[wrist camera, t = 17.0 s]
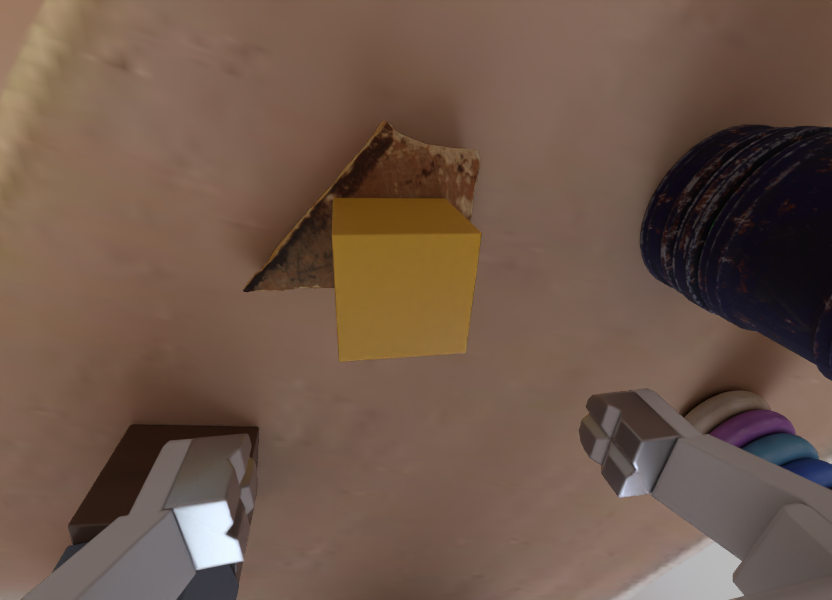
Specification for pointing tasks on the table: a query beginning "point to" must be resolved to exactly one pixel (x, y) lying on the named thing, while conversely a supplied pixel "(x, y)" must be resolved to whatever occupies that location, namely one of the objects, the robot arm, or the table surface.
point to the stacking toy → (759, 433)
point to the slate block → (206, 592)
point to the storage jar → (751, 233)
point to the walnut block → (139, 476)
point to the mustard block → (402, 277)
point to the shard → (369, 178)
